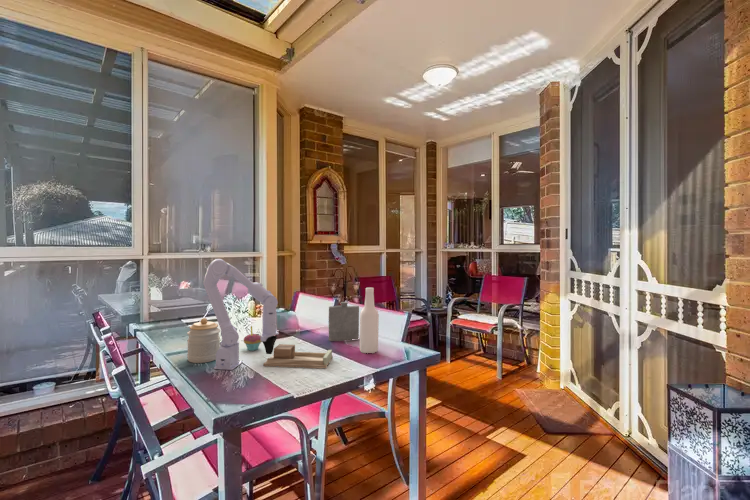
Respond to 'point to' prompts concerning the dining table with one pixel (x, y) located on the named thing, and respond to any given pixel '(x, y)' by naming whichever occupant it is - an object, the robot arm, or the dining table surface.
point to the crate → (284, 351)
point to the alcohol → (369, 324)
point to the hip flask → (343, 322)
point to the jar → (203, 341)
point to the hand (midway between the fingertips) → (269, 353)
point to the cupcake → (252, 341)
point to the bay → (302, 360)
